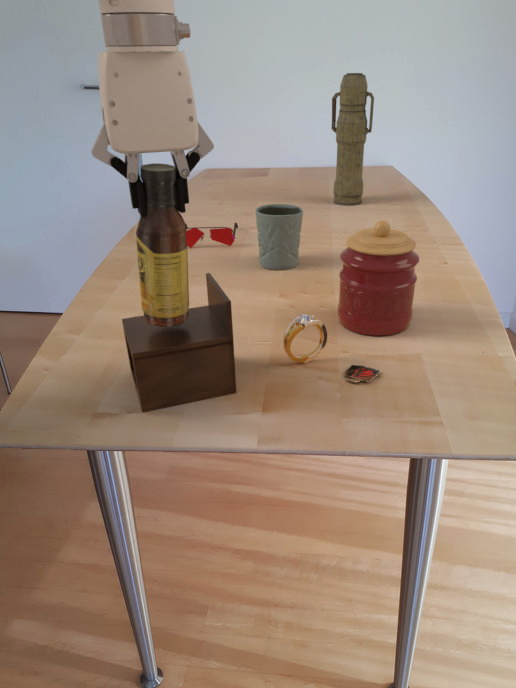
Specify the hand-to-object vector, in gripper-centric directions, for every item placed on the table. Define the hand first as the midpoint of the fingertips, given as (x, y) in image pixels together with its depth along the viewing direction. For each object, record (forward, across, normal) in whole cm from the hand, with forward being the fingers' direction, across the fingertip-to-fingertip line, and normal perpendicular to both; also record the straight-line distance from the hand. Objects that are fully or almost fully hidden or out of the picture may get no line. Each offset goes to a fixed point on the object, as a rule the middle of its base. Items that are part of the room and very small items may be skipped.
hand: (161, 210), depth 67 cm
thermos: (+25, -70, -86) cm, 114 cm away
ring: (+25, -19, +1) cm, 31 cm away
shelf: (+25, 0, 0) cm, 25 cm away
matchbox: (+25, -25, +8) cm, 36 cm away
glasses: (+25, -21, -66) cm, 74 cm away
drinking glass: (+25, -31, -42) cm, 58 cm away
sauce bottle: (+15, +1, 0) cm, 15 cm away
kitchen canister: (+25, -36, -8) cm, 45 cm away
